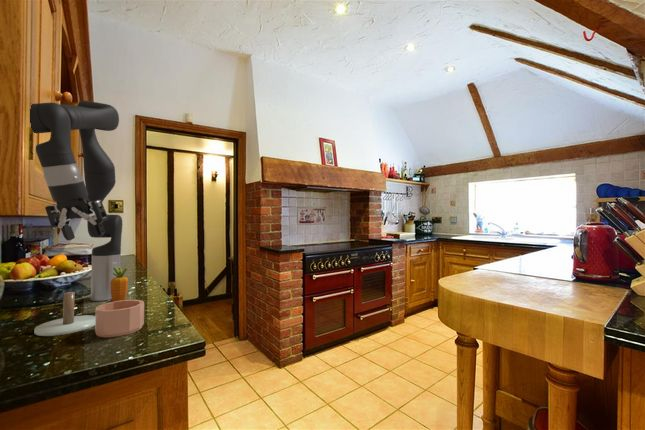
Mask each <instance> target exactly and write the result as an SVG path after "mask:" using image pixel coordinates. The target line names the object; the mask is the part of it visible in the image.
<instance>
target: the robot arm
mask: <svg viewBox="0 0 645 430" xmlns="http://www.w3.org/2000/svg"><path fill="white" fill-rule="evenodd" d="M31 104H32V105H31V109H30V123H31V128H32V130H33V132H34V133H36V134H37V135H38V134H47V133H50V138H49V140H48V141H45V142H42V143H41V142H40V143H39V144H37V145H36V146H35V153H36V155H37V158H38V161H39V164H40V166H41V168H42V174H43V177H44V181H45V182H46V185H47V188H48V191H49V193H50V196H51V199H52V201H53V202H55V203H54V204H50V205H47V206H45V207H44V208H45V211H46V215H47V217H48V220H49V224H50V227H53V228H55V227H56V228H58V229H61V230H60V231H61V233H62V235H63V238H64V239H65V240H66V241H72V240H73V239H75V237H76V236H75V234H74V231H73V227H72V226H71V225H70V224H71V221H72V220H74V219H83V220H85V221H86V222H87V223H86V225H87V227H86V228H87V232H88V234H89V235H88V236H89V237H91V238H94V239H95V238H97V239H98V238H99V239H100V238H104V239H105V238H110V240H109V241H108V242H106V243H104V244H103V245H99V246H96V247H93V248H92V250H91V272H90V273H91V277H90V279H91V280H90V301H96V302H101V301H110V300H112V297H111V280H112V279H113V278H115V277H117V276H115V275H114V274H113V273H116V272H115V270H114V269H113V268H114V267H117V269H118V268H121V263H122V261H121V256H122V255H121V253H122V252H121V251H122V233H123V218H122V216H121V215H119V214H107V211H106V209H105V207H104V204H103V203H104V200H105V199H106V198H107V196H108V195H109V194H110V193H111V191H112V190H113V189H114V187H115V185H116V169H115V167H116V166H115V164H114V162H113V161H112V159H111V158H110V156H109V155H107V153H106V152H105V150H104V149H103V148H102V146H101V145H100V142H99V141H98V138H97V135H96V131H103V132H111V131H115V130H116V129H117V128H118V126H119V123H120V117H119V116H120V115H119V113H118V109H116V108H115V107H114V106H112V105H110V104H108V103H101V102H96V101H89V100H80V101H79V102H78V103H77V105H73V104H62V103H61V104H60V103H56V102H40V103H31ZM76 130H78V131H79V132H78V133H79V137H80V141H81V147H82V148H81V149H82V158H83V159H82V160H83V162H82V163H83V175H84V176H82V172H81V170H80V168H79V166H78V164H77V161H76V158H75V156H74V155H75V154H74V151H73V149H72V140H71V139H72V136H71V131H76ZM83 177H84V178H83ZM118 271H119V269H118Z"/></svg>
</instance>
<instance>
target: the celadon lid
mask: <svg viewBox="0 0 645 430" xmlns="http://www.w3.org/2000/svg"><path fill="white" fill-rule="evenodd" d="M75 293H76V292H75V291H68V292H64V293H63V300H62V301H63V302H62V303H63V306H62V307H63V309H62V317H61V318H57V319H53V320H50V321H46V322H43V323H41V324H39V325H36V326H35V327H34V332H33V333H34V335H36V336H39V337H52V336H53V337H54V336H61V335H68V334H73V333H76V332H81V331H85V330H88V329H90V328H93V327H95V315H92V314H91V315H87V314H86V315H75Z"/></svg>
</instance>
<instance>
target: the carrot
mask: <svg viewBox="0 0 645 430" xmlns="http://www.w3.org/2000/svg"><path fill="white" fill-rule="evenodd" d="M113 269H114V270H115V272H116V273H113V274H114V275H115V276H117V277H115V278H113V279H112V280H111V297H112V299H111V302H114V301H121V300H127V299H126V298H127V295H128V288H129V278H128V277H127V276H124V275H125V273H126V272H127V270H128V267H125V268H124V269H122V268H121V267H120V268H118V269H119V271H118V269H117V267H114V268H113Z"/></svg>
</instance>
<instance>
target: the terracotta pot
mask: <svg viewBox="0 0 645 430" xmlns="http://www.w3.org/2000/svg"><path fill="white" fill-rule="evenodd" d="M94 316H95V326H94V332H95V334H96V336H97V337H99V338H117V337H123V336H127V335H130V334H133V333H136V332H138V331H139V330H141V329H142V328H143V326H144V325H145V302H144V301H143V300H140V299H125V300H121V301H114V302H113V301H110V302H106V303H103V304H102V303H101V304H100V305H98V306H96V307H95V315H94Z"/></svg>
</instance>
